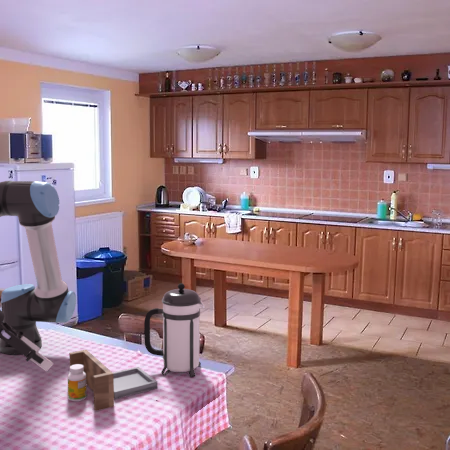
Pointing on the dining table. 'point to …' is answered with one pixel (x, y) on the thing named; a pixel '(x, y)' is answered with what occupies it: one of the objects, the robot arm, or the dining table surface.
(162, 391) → the dining table surface
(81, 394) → the supplement bottle
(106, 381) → the alcove
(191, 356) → the coffee press
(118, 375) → the tray
